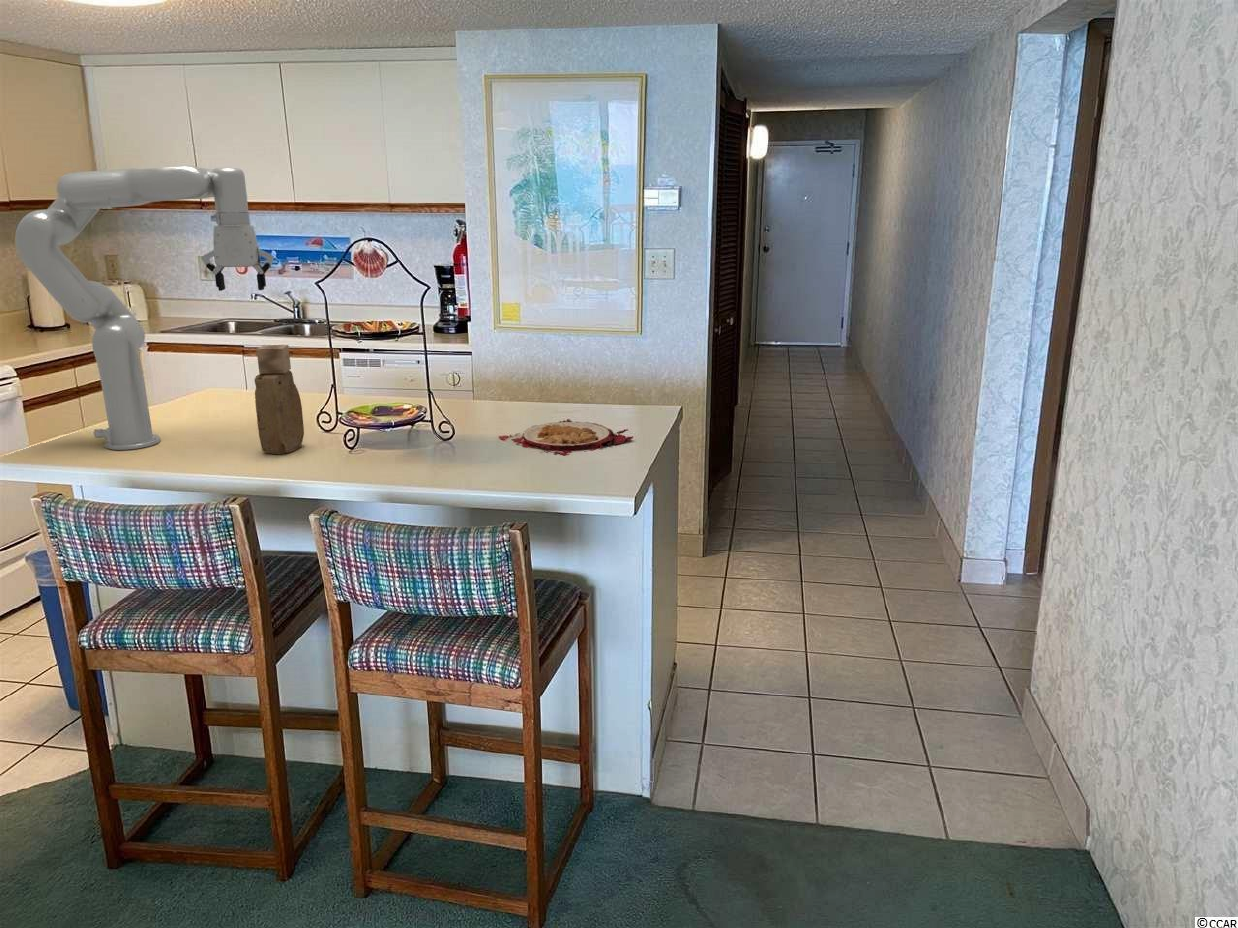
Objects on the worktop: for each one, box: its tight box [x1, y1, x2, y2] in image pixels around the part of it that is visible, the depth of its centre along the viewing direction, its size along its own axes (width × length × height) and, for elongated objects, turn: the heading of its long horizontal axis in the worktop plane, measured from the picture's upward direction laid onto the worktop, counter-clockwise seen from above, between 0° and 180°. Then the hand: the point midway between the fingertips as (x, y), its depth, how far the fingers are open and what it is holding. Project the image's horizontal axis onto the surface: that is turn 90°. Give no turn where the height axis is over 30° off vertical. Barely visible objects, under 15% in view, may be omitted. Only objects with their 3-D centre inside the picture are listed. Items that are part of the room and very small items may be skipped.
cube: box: [256, 344, 292, 375], centre depth 216 cm, size 6×6×6 cm
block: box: [253, 370, 305, 455], centre depth 220 cm, size 11×8×20 cm
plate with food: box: [498, 418, 634, 457], centre depth 232 cm, size 25×26×4 cm
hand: (241, 290), depth 225 cm, fingers open, 9 cm apart
